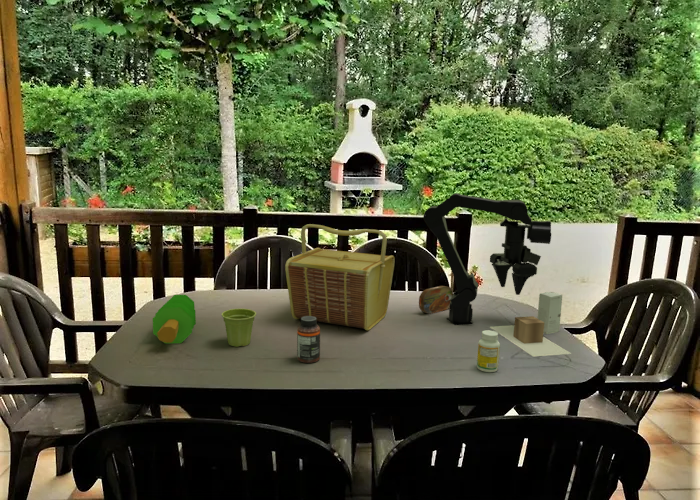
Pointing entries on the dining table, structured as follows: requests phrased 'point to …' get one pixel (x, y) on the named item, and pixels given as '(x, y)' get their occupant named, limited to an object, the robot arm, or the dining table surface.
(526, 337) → the tan cube
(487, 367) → the supplement bottle
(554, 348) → the cream mat
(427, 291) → the tin
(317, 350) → the supplement bottle
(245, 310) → the plant pot
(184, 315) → the decorative tree
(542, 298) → the skincare box
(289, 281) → the picnic basket
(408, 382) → the dining table surface
